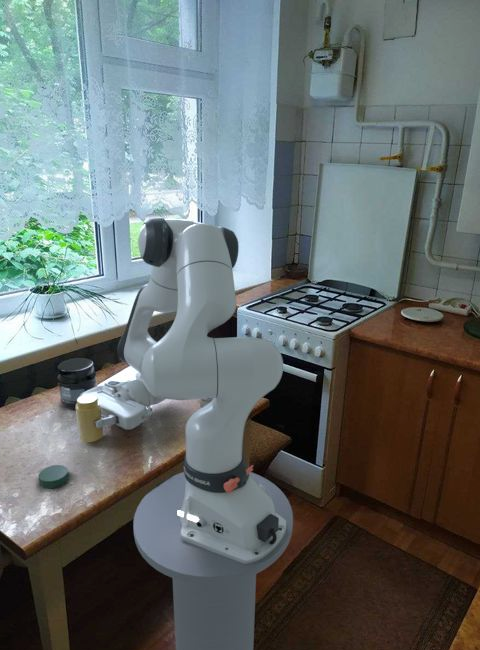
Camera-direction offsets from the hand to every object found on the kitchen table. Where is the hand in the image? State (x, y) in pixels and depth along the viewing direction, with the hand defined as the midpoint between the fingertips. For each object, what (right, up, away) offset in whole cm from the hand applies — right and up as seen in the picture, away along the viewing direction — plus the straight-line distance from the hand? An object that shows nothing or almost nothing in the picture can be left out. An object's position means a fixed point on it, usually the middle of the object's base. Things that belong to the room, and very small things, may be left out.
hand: (86, 419), depth 123 cm
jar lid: (-3, -10, -12) cm, 17 cm away
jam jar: (0, -4, +3) cm, 5 cm away
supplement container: (-10, +2, +22) cm, 24 cm away
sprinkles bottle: (+29, -1, +18) cm, 34 cm away
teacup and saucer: (+4, +7, +35) cm, 36 cm away
